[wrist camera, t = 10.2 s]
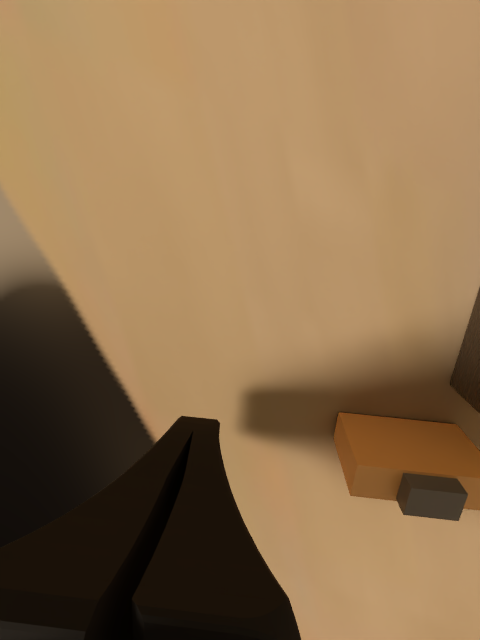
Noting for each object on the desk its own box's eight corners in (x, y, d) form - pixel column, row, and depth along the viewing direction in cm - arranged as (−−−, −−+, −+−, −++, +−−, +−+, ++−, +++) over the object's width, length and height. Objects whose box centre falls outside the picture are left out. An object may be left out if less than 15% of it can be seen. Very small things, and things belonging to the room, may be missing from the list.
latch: (456, 424, 13) (519, 497, 10) (447, 450, 13) (506, 529, 10) (338, 412, 13) (362, 480, 10) (333, 438, 13) (354, 511, 10)
